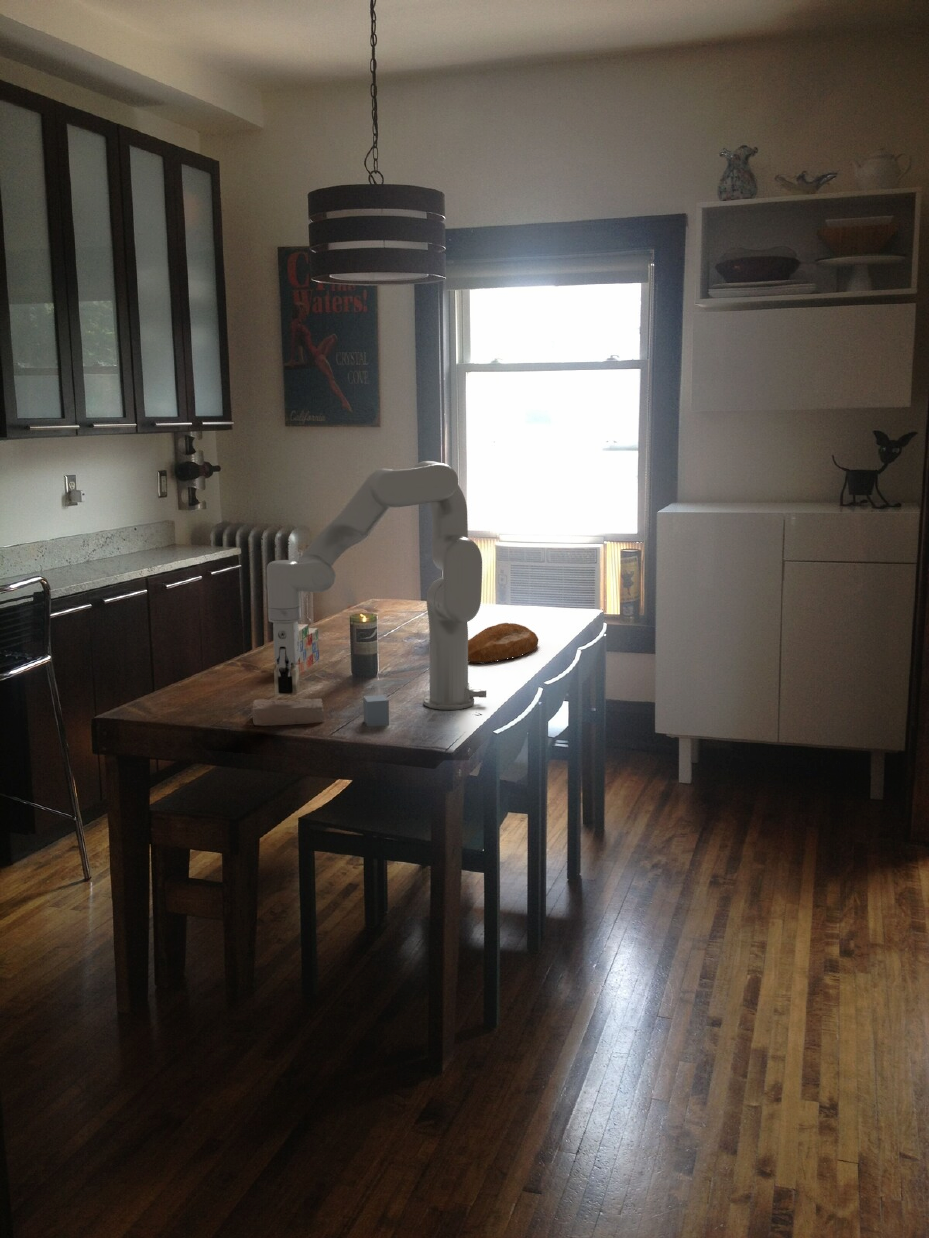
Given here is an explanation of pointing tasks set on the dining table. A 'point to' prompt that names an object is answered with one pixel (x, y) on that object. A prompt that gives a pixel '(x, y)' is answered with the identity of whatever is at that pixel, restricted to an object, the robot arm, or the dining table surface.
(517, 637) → the bread
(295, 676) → the beech block
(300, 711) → the brick
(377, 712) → the slate block
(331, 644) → the dining table surface
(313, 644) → the stack of blocks
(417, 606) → the dining table surface
